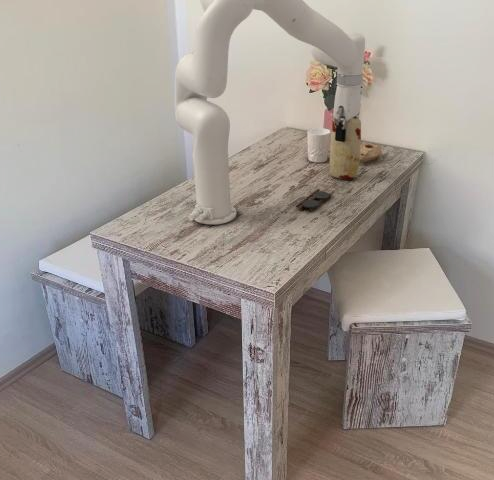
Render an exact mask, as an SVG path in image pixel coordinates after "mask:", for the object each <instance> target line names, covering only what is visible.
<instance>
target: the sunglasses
mask: <svg viewBox="0 0 494 480" xmlns="http://www.w3.org/2000/svg"><path fill="white" fill-rule="evenodd" d="M329 198H331V193H329V192H327V191H321V190H320V188H316V189H315V190H314V191H313V192H311V193H310V194H309V195H307V196H306V197H304V198H303V199H302V200H301V201H300V202H298V203H297V204H296V205H295V208H299V207H300V210H302V211H303V210H304V209H305V208H306V209H308V212H309V213H311V212H312V211H314V210H315V209H316V208H318V207H319V206H320V205H321V204H323V203H324V202H325V201H326V200H327V199H329Z"/></svg>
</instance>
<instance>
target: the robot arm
mask: <svg viewBox="0 0 494 480" xmlns="http://www.w3.org/2000/svg"><path fill="white" fill-rule="evenodd" d="M199 2H200V6H201V9H202V10H203V11H204V12H203V13H202V15H201V17H200V18H199V20H198V22H197V25H196V27H195V34H194V42H193V43H194V44H193V52H190V53H187V54H185V55H183V56H182V57H181V58H180V60H179V62H178V63H177V65H176V68H175V71H174V72H175V73H174V115H175V116H174V117H175V120H176V122H177V124H178V125H179V127H180V128H181V129H183V130H184V131H185V132H188V133H189V134H191V135H193V136H194V143H193V146H192V147H193V148H192V165H193V176H194V178H193V179H194V187H195V188H194V189H195V190H194V191H195V201H196V204H194V209H192V212H190V213H189V214H187V219H188V221H190V222H192V221H195V222H197V223H199V224H203V225H211V226H212V225H215V226H216V225H222V224H226V223H229V222H231V221H233V220H234V219H235V218H236V217H237V214H238V213H237V208H236V207H235V206H233V205H232V204H231V186H230V184H231V183H230V165H229V164H230V162H229V138H230V132H231V122H230V117H229V116H228V115H229V114H228V113H227V112H226V111H225V109H224V108H222V107H221V106H220V105H218V104H216V103H214V102H213V101H212V102H211V101H209V100H208V98H209V99H216V98H219V97H221V96H222V95H223V94H224V93H225V91H226V88H227V84H228V70H229V69H228V67H229V51H230V42H231V38H232V35H233V34H234V32H235V30H236V29H237V28H238V26H240V24H241V23H242V22H243V21H245V20H246V19H247V18H249V17H250V15H251V14H252V12H253V10H255V11H259V12H260V11H261V12H263V13H264V14H265V15H267V16H268V17H269V18H270V19H271V20H272V21H273V22H275V23H276V24H277V25H278V26H279V27H280V28H282V29H283V31H284V32H286V33H287V34H288V35H289V36H290V37H292V38H294V39H296V40H297V41H300V42H302V43H305V44H308V45H310V46H311V49H310V52H311V56H312V58H313V59H314V60H315V61H316V62H318V63H319V64H323V65H326V66H331V67H333V68H337V71H336V73H337V74H336V85H337V86H336V90H335V95H334V102H333V103H334V104H333V112H332V113H333V115H332V117H333V119H334V121H335V128H336V131H335V140H336V141H340V142H345V137H346V129H345V126H346V122H347V121H348V120H350V119H351V118H355V119H359V120H360V118H359V116H360V110H361V99H362V98H361V96H362V94H361V93H362V90H361V89H362V88H361V86H363V78H364V66H365V65H364V63H365V51H366V50H365V49H366V39H365V37H364V36H363V35H362V34H357V33H346V32H345V31H344V30H343V29H342V28H340V27H339V26H338V25H337V24H335V23H334V22H332V21H331V20H330V19H328V18H326V17H325V16H323V15H322V14H321V13H319V12H317V11H316V10H314V9H313V8H312V7H310V6H309V5H308V4H307V3H306V2H305V1H304V0H199ZM341 117H345V118H341ZM340 121H343V124H342V122H340Z"/></svg>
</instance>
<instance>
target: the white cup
mask: <svg viewBox="0 0 494 480" xmlns="http://www.w3.org/2000/svg"><path fill="white" fill-rule="evenodd" d="M306 136H307V137H306V139H307V159H308V161H310V162H312V163H319V164H320V163H325V162H326V161H327V162H328V159H329V153H330V141H331V130H330V129H329V128H324V127H313V128H310V129H308V130H307V132H306Z"/></svg>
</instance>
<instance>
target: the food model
mask: <svg viewBox="0 0 494 480" xmlns="http://www.w3.org/2000/svg"><path fill="white" fill-rule="evenodd" d="M341 118H345V117H341ZM340 122H342V124H343V121H340ZM331 123H332V125H331V131H330V143H329V175H330V176H332V177H333V178H336V179H340V180H345V181H346V180H347V181H348V180H349V181H351V180H354V179H355V178H356V176H357V173H358V170H359V166H360V164H359V163H360V161H359V159H360V148H361V145H362V121H361V120H360V118H359V119H355V118H351V119H350V120H348V121H347V122H346V126H345V129H346V137H345V142H340V141H336V140H335V131H336V128H335V121H334V118H333V119H332V120H331Z"/></svg>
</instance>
